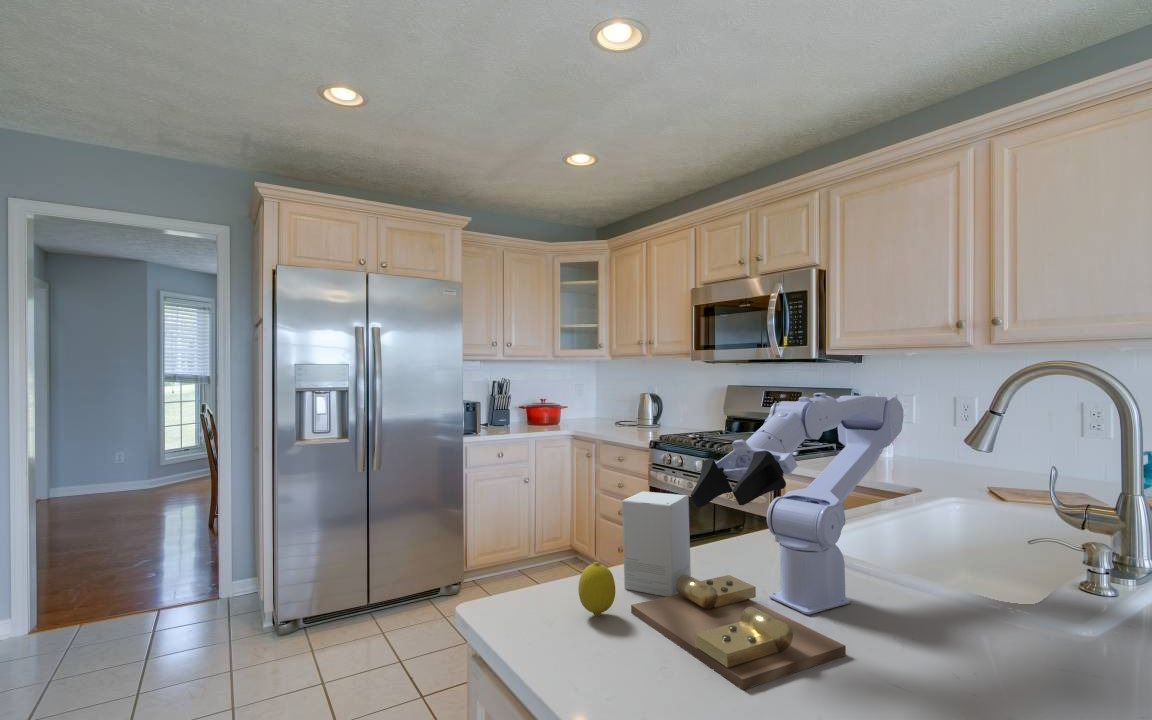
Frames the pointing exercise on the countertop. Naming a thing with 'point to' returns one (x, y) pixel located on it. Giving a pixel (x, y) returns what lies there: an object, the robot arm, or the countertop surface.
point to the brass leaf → (745, 638)
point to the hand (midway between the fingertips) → (715, 499)
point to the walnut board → (689, 618)
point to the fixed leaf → (714, 590)
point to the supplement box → (655, 542)
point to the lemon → (596, 588)
